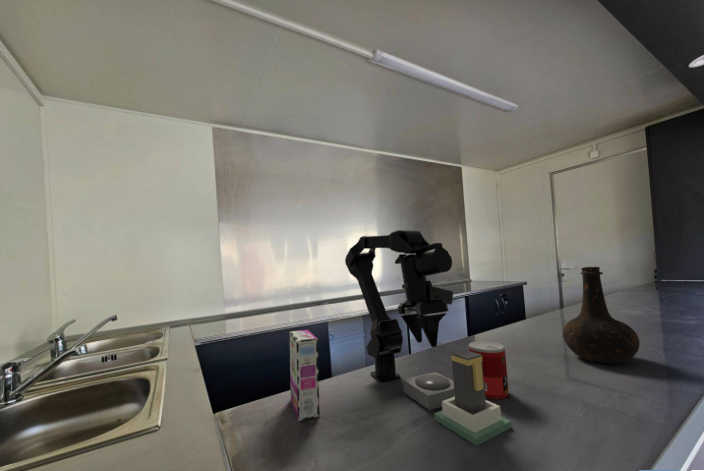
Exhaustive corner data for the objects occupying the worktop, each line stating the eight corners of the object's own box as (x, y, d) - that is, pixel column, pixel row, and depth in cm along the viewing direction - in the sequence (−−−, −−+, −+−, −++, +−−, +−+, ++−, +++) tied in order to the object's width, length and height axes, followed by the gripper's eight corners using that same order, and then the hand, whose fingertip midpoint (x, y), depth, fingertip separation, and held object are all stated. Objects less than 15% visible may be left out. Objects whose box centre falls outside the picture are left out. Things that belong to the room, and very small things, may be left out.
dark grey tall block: (455, 415, 57) (451, 353, 58) (469, 409, 59) (464, 349, 60) (476, 426, 53) (470, 359, 54) (490, 420, 55) (484, 355, 56)
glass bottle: (580, 368, 81) (568, 268, 84) (556, 349, 98) (546, 267, 101) (660, 372, 76) (644, 266, 79) (619, 351, 93) (608, 265, 96)
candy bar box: (321, 417, 61) (318, 338, 63) (297, 423, 60) (295, 341, 61) (310, 395, 72) (308, 328, 73) (290, 400, 70) (288, 330, 72)
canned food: (513, 400, 65) (509, 350, 66) (476, 399, 66) (471, 349, 67) (503, 386, 72) (499, 341, 73) (469, 385, 74) (466, 340, 75)
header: (434, 419, 58) (433, 400, 59) (467, 406, 63) (466, 388, 64) (476, 445, 50) (474, 423, 50) (511, 427, 54) (509, 407, 55)
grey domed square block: (403, 392, 71) (402, 377, 72) (436, 383, 75) (435, 370, 76) (429, 410, 62) (428, 393, 62) (464, 399, 66) (463, 384, 66)
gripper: (463, 270, 64) (479, 343, 60) (431, 278, 82) (442, 336, 78) (415, 275, 62) (428, 352, 59) (393, 283, 80) (402, 342, 77)
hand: (426, 344), depth 68 cm, fingers open, 9 cm apart
